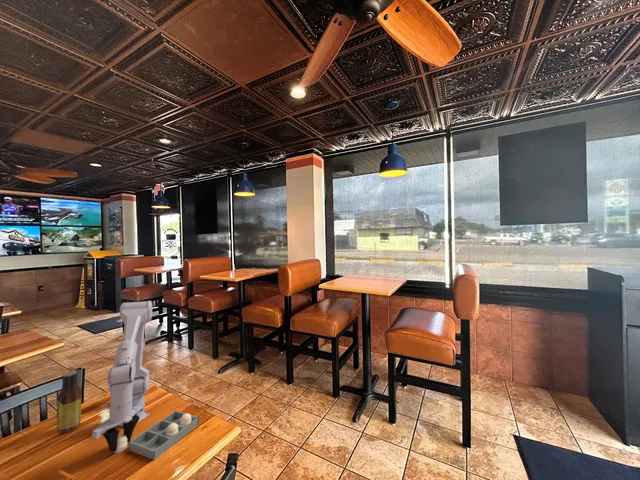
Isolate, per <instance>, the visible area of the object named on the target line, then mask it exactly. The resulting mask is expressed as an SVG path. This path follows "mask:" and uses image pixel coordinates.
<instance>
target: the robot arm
mask: <svg viewBox="0 0 640 480" xmlns="http://www.w3.org/2000/svg"><path fill="white" fill-rule="evenodd" d="M119 317H120V320H121V322H122V323H123V324H124V328H123V335H122V337H123V338H122V342H120V344H118V345H117V348H116V353H115V357H114V360H113V365H112V367H110V369H109V371H108V373H107V385H108V392H109V418H108V419H107V420H106V421H104V422H103V423H102V424H101V425H99V426H98V427H97V428H95V429H93V430H92V433H91V434H92V439H95V440H97V439H99V438H100V437H101V436H103V437H104V439H105V441H106V443H107V445H108V449H109V450H108V451H109V452H111V453H113V452H115V451H116V450H117V439H118V436H119V434H120V432H121V430H118V429H117V427H118V426H119V427H122V428H123V435H126V436H127V443H129V442H130V441H131V439H132V436H133V432H134V430H135V428H136V426H137V424H138V423H139V422H140V421H142V420H143V419H146V418H148V417H149V416H150V415H151V414H150V413H147V412H145V410H146V403H145V394H147V392H148V391H149V389H150V383H151V382H150V381H151V379H150V370H148V369H147V368H145V367H143V366H142V365H143V364H142V363H143V352H144V339H145V327H146V325H147V323H149V322H151V321H152V319H153V318H152V317H153V301H152V300H147V301H133V302H123V303H122V304H120V306H119ZM135 376H138V377H135Z"/></svg>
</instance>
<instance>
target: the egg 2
mask: <svg viewBox="0 0 640 480" xmlns="http://www.w3.org/2000/svg"><path fill="white" fill-rule="evenodd" d="M176 433H178V425H177V424H176V423H172V424H170V425H169V426H168V427H167V429H166V436H168V437H173V436H174V435H175V434H176Z"/></svg>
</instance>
